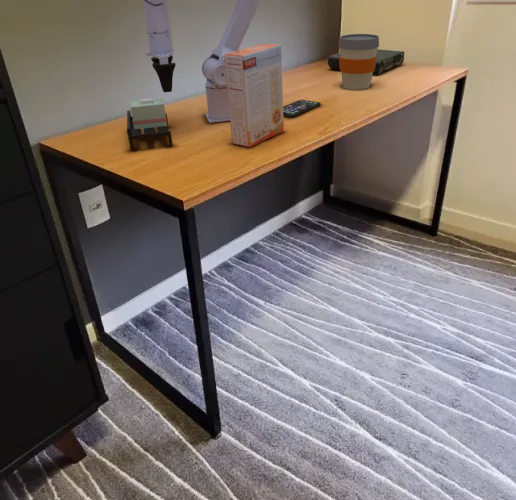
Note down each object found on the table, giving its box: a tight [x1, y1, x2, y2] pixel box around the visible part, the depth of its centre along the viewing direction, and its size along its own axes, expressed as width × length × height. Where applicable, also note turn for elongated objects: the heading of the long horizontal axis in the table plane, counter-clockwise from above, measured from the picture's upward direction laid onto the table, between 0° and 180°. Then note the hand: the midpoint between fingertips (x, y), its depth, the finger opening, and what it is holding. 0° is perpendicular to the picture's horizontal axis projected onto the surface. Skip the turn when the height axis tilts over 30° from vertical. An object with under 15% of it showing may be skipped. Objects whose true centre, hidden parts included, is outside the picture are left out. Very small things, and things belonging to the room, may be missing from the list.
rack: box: [126, 109, 174, 152], centre depth 123 cm, size 10×16×6 cm, turn 13°
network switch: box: [327, 49, 405, 76], centre depth 182 cm, size 23×24×5 cm
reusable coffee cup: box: [338, 33, 380, 91], centre depth 157 cm, size 13×12×15 cm
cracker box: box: [224, 42, 285, 148], centre depth 116 cm, size 14×6×21 cm, turn 141°
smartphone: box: [283, 99, 321, 118], centre depth 140 cm, size 7×1×15 cm
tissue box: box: [129, 97, 168, 130], centre depth 121 cm, size 8×5×6 cm, turn 103°
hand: (166, 88), depth 128 cm, fingers open, 7 cm apart
